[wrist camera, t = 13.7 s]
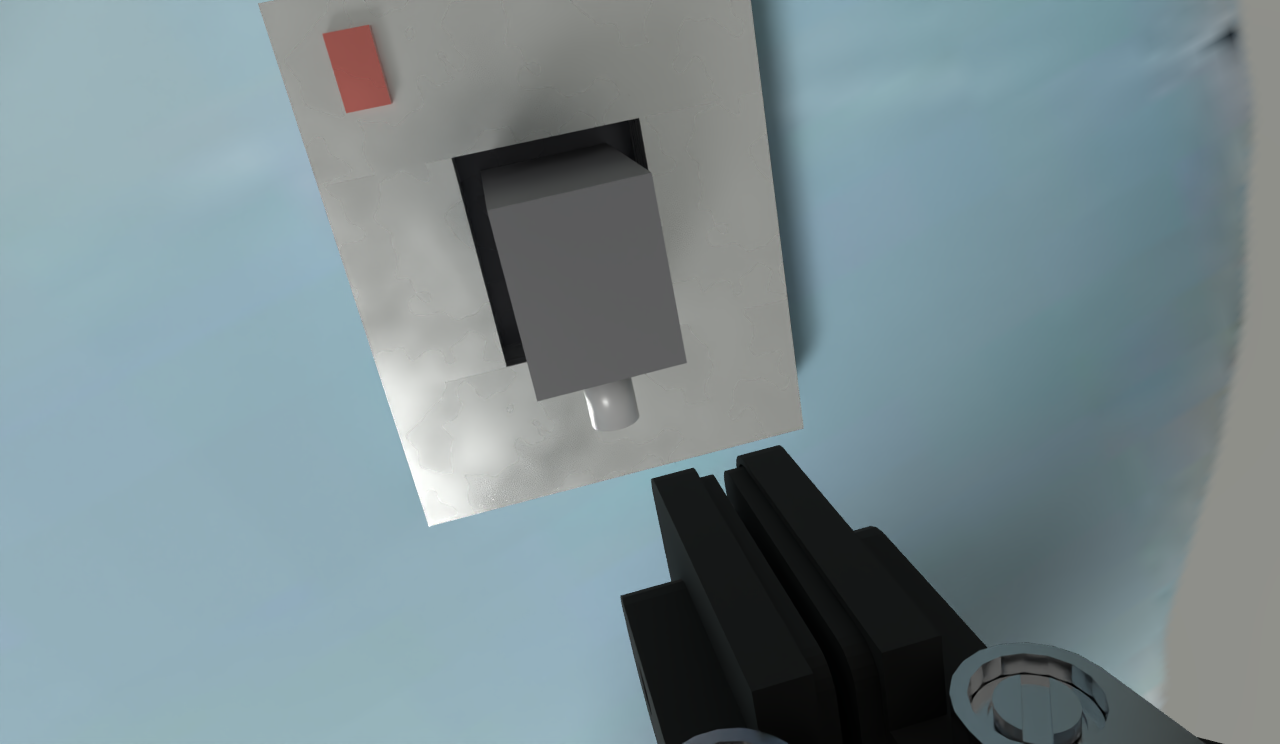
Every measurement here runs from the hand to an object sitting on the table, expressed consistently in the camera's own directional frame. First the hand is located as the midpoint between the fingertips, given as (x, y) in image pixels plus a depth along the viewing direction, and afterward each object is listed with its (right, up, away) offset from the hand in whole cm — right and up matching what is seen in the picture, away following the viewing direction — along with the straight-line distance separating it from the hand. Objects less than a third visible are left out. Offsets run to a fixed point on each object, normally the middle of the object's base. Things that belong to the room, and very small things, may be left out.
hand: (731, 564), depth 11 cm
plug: (-4, +7, +17) cm, 19 cm away
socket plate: (-4, +7, +17) cm, 19 cm away
